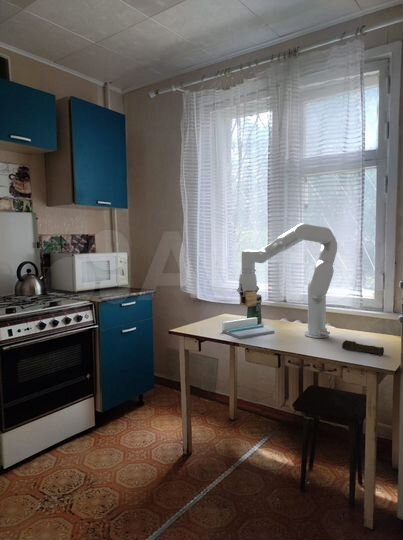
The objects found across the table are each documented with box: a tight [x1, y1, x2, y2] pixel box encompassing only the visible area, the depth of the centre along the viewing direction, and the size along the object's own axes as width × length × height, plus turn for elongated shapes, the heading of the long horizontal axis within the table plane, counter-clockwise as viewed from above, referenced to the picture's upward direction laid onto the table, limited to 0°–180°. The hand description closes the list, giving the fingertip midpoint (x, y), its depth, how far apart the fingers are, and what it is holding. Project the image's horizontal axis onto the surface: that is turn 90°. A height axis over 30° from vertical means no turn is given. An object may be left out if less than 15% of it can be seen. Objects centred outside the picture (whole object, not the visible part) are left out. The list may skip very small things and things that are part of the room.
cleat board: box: [221, 317, 275, 340], centre depth 225 cm, size 18×24×6 cm
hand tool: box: [341, 339, 385, 357], centre depth 185 cm, size 19×4×5 cm, turn 49°
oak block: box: [239, 291, 258, 308], centre depth 223 cm, size 8×6×8 cm
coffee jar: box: [246, 293, 263, 325], centre depth 249 cm, size 10×8×19 cm
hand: (248, 302), depth 223 cm, fingers closed on oak block, 6 cm apart
